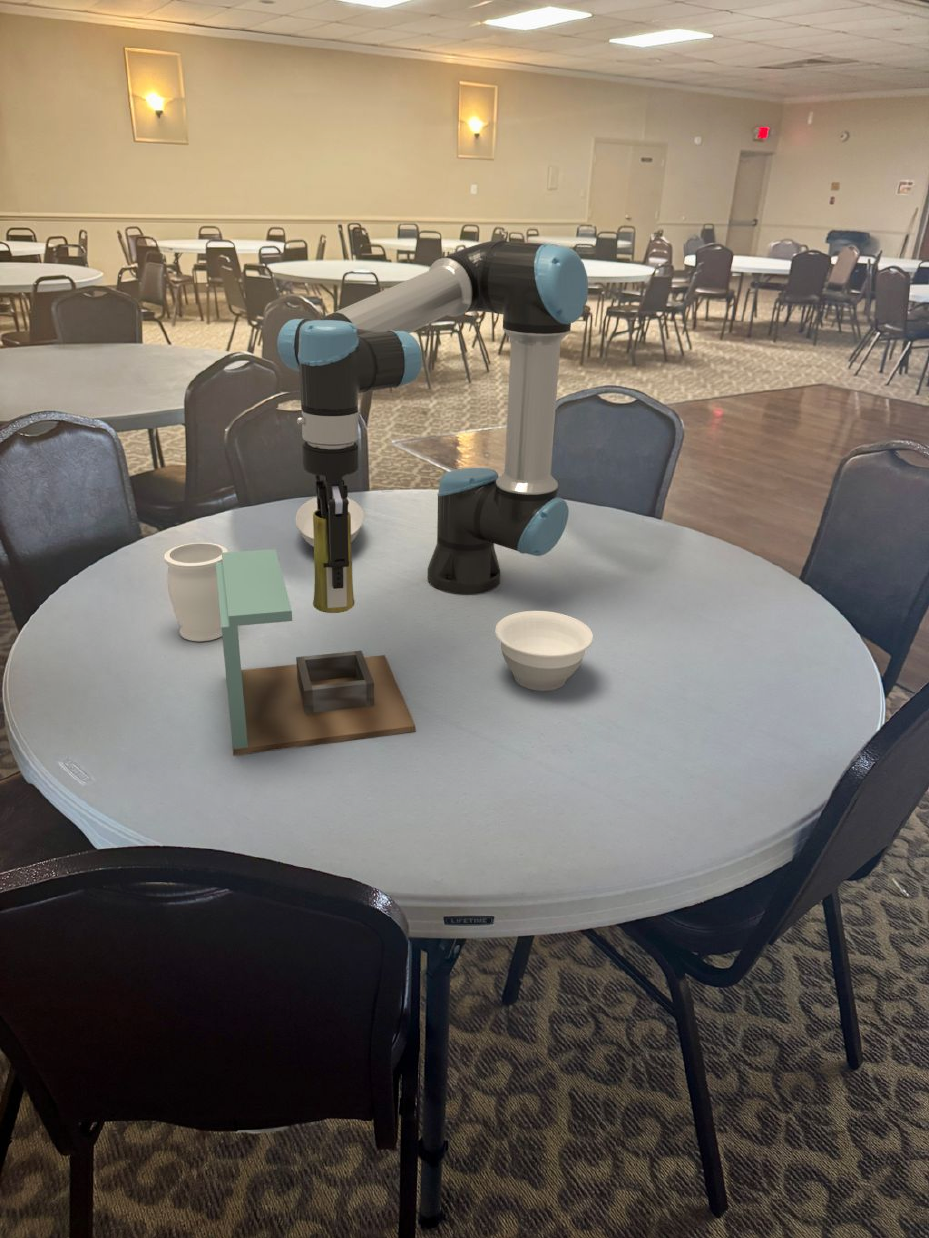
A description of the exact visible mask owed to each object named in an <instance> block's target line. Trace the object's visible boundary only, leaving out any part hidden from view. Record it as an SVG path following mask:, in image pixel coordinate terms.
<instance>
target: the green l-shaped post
mask: <svg viewBox="0 0 929 1238" xmlns="http://www.w3.org/2000/svg"><path fill="white" fill-rule="evenodd" d="M216 573H217V584H218V595H219V606H220V617H221V628H222V636H221V638H222V639H221V640H222V647H223V657H224V659H223V660H224V668H225V677H226V678H225V680H226V689H227V701H228V709H229V720H230V721H229V722H230V731H231V732H230V734H231V743H232V750H233V749H240V748H248V744H247V732H246V720H245V708H244V697H243V685H242V673H241V670H242V663H241V655H240V654H241V652H240V650H241V649H240V640H239V630H238V629H239V628H238V627H239V626H251V625H262V624H272V623H273V624H274V623H282V622H283V623H285V622H286V623H287V622H293V609H292V607H291V602H290V598H289V595H288V591H287V586H286V583H285V578H284V576H283V571H282V568H281V565H280V560H279V556H278V552H277V550H276V548H273V549H272V548H271V549H259V550H258V549H256V550H245V551H244V550H243V551H242V550H241V551H240V550H239V551H228V552H225V553H222V562H216Z"/></svg>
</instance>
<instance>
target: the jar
mask: <svg viewBox="0 0 929 1238" xmlns="http://www.w3.org/2000/svg"><path fill="white" fill-rule="evenodd" d="M225 552H229V551H228V549H227V548H226V547H224V546H222V545H220V544H217V543H210V542H192V543H191V542H190V543H186V544H181V545H178V546H174V547H172V548H170V549H169V550H167V551H166V552H165V553H164V555H163V556H164V557H163V558H164V562H165V564H166V565H167V566H168V568H167V574H166V575H167V579H166V580H167V581H166V583H167V590H168V596H169V599H170V602H171V605H172V608H173V613H174V615H175V618H176V620H177V621H178V623H179V624H180V628H179V635H180V636H181V637H182V638H183V639H185V640H187V641H191V642H209V641H213V640H216V639H218V638H219V639H220V638H222V628H221V617H220V606H219V595H218V584H217V573H216V562H222V553H225Z"/></svg>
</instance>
